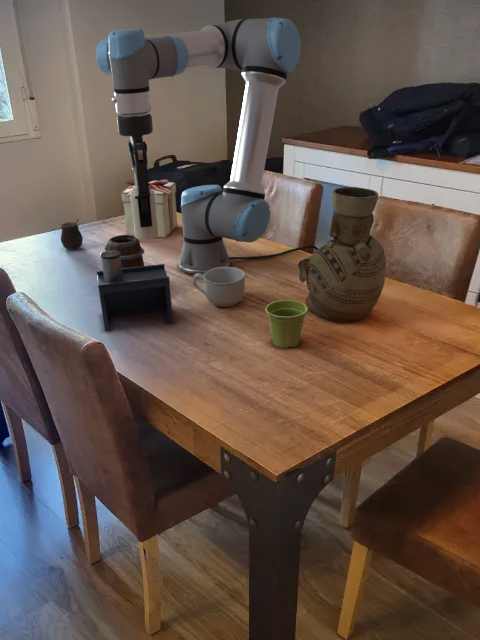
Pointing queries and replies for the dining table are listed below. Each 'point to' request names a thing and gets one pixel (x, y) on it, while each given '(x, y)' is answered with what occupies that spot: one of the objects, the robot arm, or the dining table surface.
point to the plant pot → (286, 322)
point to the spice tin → (112, 266)
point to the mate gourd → (71, 235)
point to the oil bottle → (139, 231)
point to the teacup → (222, 285)
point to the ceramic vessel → (346, 261)
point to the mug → (127, 250)
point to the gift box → (163, 205)
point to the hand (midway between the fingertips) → (145, 222)
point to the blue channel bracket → (136, 292)
